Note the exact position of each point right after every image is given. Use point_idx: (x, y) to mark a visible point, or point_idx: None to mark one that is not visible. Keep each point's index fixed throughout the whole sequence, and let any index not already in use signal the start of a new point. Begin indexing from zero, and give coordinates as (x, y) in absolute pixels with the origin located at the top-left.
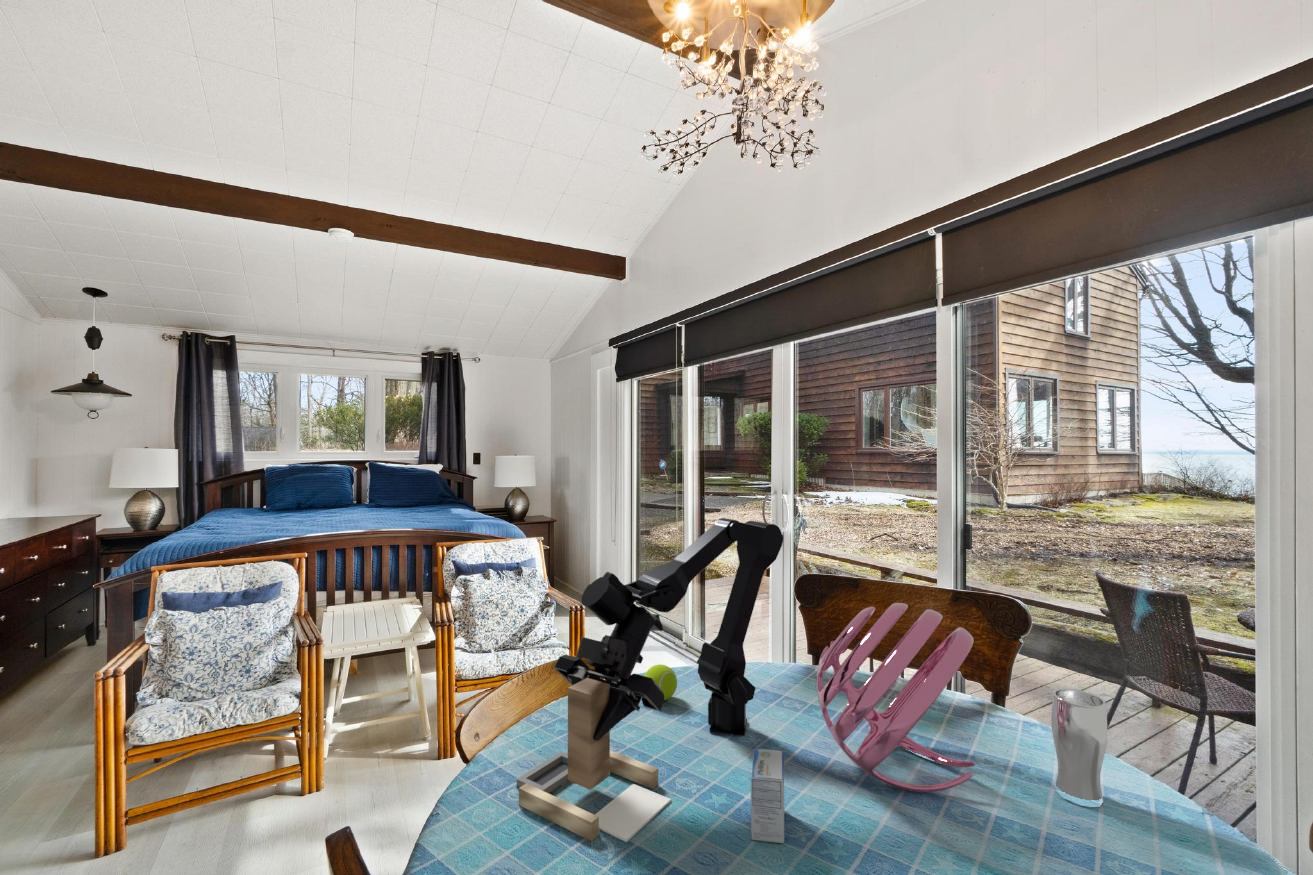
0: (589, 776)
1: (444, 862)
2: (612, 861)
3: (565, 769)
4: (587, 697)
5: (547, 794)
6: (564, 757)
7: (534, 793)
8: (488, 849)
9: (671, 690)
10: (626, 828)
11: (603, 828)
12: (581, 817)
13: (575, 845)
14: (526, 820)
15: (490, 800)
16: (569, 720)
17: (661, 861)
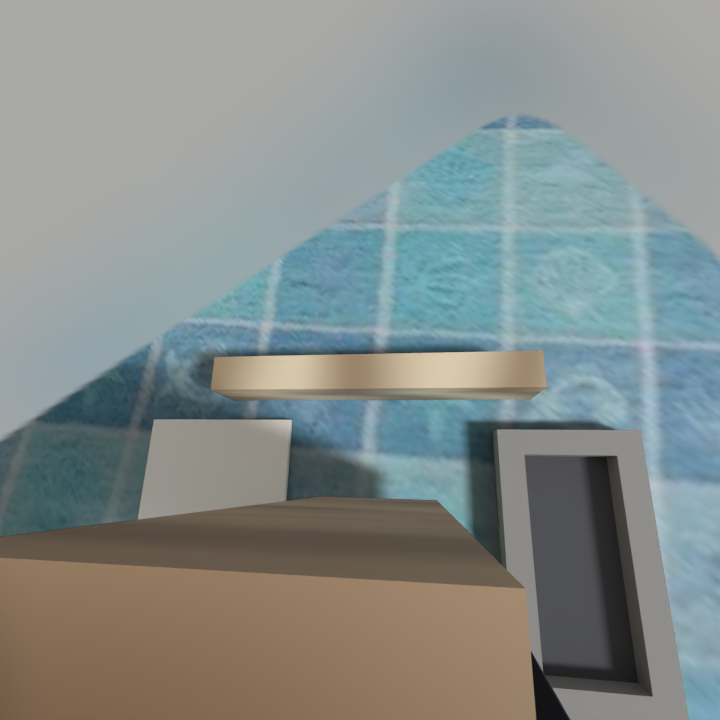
0: (314, 498)
1: (484, 131)
2: (158, 347)
3: (569, 634)
4: (24, 546)
5: (427, 382)
6: (629, 693)
7: (469, 360)
8: (437, 208)
9: None
10: (175, 460)
11: (230, 421)
12: (253, 356)
13: (265, 337)
14: (447, 332)
15: (624, 332)
16: (436, 519)
17: (56, 413)
